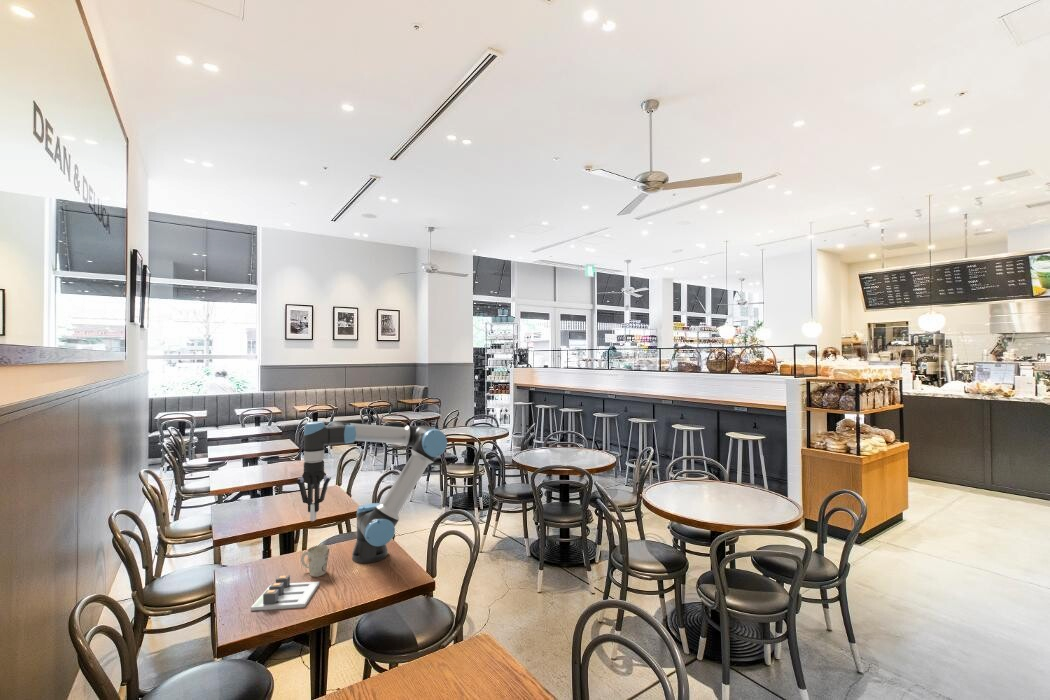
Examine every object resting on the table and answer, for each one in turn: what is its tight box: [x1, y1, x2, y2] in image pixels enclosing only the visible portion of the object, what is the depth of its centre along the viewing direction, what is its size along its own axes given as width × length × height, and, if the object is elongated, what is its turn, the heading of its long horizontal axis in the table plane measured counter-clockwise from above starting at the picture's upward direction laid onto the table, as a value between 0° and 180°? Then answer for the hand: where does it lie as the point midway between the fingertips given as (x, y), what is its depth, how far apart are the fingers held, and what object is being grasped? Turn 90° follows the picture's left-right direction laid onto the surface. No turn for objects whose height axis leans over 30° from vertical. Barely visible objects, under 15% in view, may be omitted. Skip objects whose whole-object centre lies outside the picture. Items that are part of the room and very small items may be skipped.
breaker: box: [262, 589, 279, 604], centre depth 167 cm, size 4×3×4 cm
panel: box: [250, 575, 320, 612], centre depth 173 cm, size 18×17×5 cm
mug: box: [300, 544, 330, 578], centre depth 193 cm, size 8×13×10 cm, turn 78°
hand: (313, 519), depth 186 cm, fingers closed
